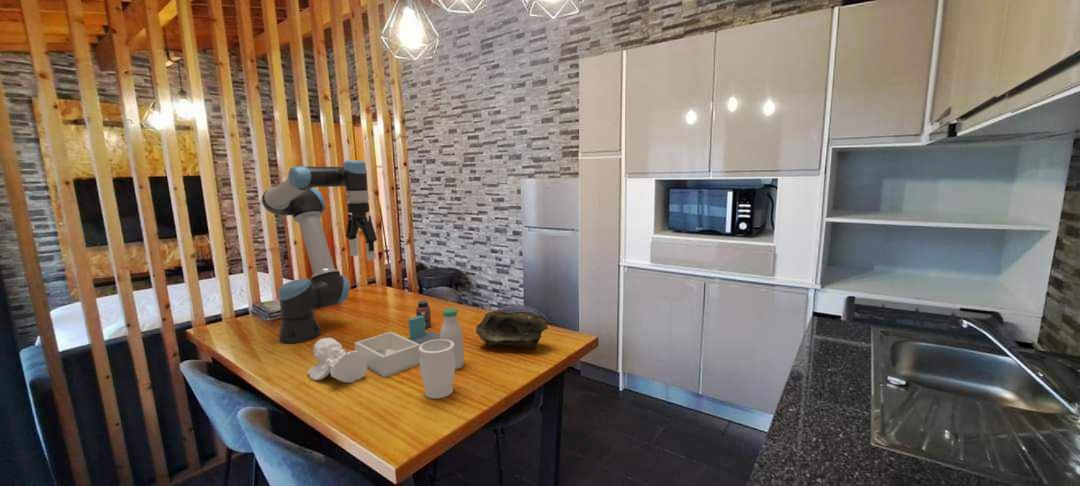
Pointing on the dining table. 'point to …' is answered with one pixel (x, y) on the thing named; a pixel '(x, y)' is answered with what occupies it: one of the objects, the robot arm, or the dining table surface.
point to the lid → (420, 331)
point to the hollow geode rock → (512, 329)
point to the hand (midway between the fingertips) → (362, 257)
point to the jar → (437, 367)
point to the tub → (389, 353)
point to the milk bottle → (453, 335)
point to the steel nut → (381, 352)
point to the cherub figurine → (337, 362)
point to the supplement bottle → (424, 312)
